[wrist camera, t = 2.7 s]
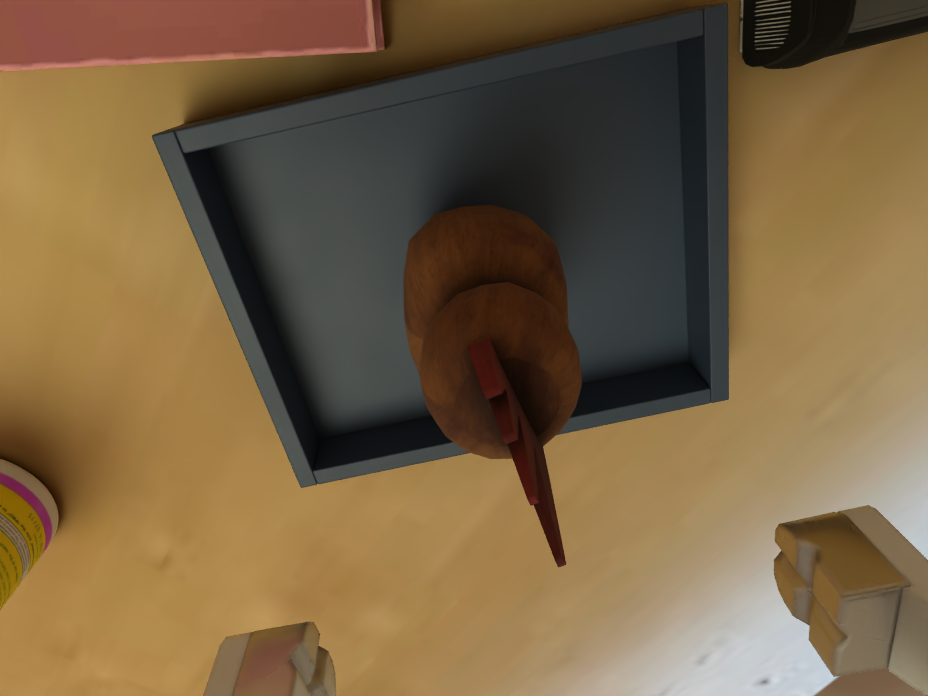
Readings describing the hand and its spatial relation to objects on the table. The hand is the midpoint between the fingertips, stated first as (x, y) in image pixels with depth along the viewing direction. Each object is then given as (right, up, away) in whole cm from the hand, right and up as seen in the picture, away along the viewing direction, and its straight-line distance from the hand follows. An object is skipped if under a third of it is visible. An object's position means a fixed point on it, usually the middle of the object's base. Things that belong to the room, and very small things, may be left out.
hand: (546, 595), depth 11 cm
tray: (-1, +8, +16) cm, 18 cm away
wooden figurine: (-1, +8, +15) cm, 17 cm away
